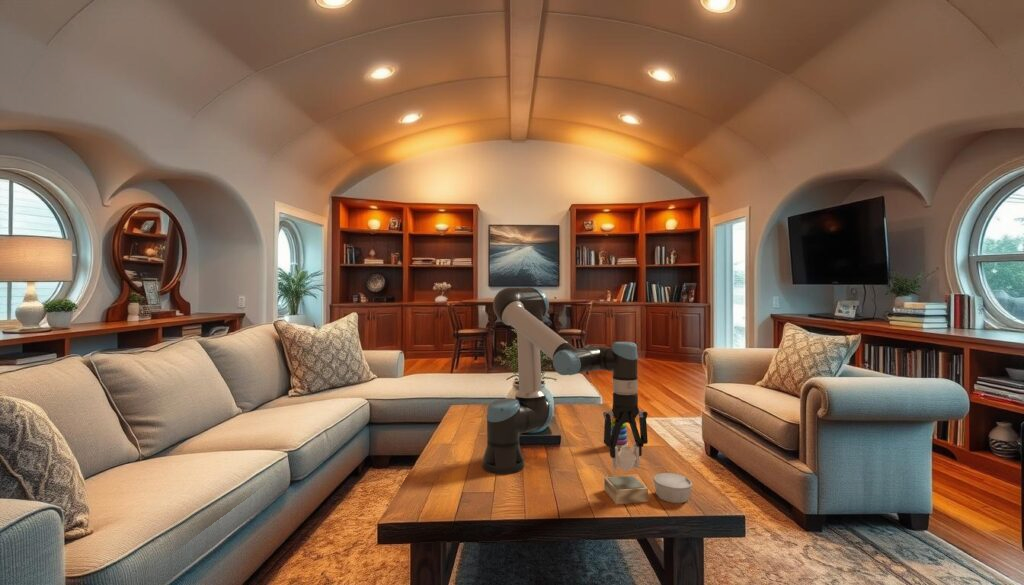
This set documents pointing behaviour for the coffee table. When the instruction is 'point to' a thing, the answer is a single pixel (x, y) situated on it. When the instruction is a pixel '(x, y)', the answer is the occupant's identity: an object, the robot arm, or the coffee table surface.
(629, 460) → the small white vase
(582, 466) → the coffee table surface
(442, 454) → the coffee table surface
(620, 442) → the stacking toy
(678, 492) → the ramekin
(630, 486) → the base block
